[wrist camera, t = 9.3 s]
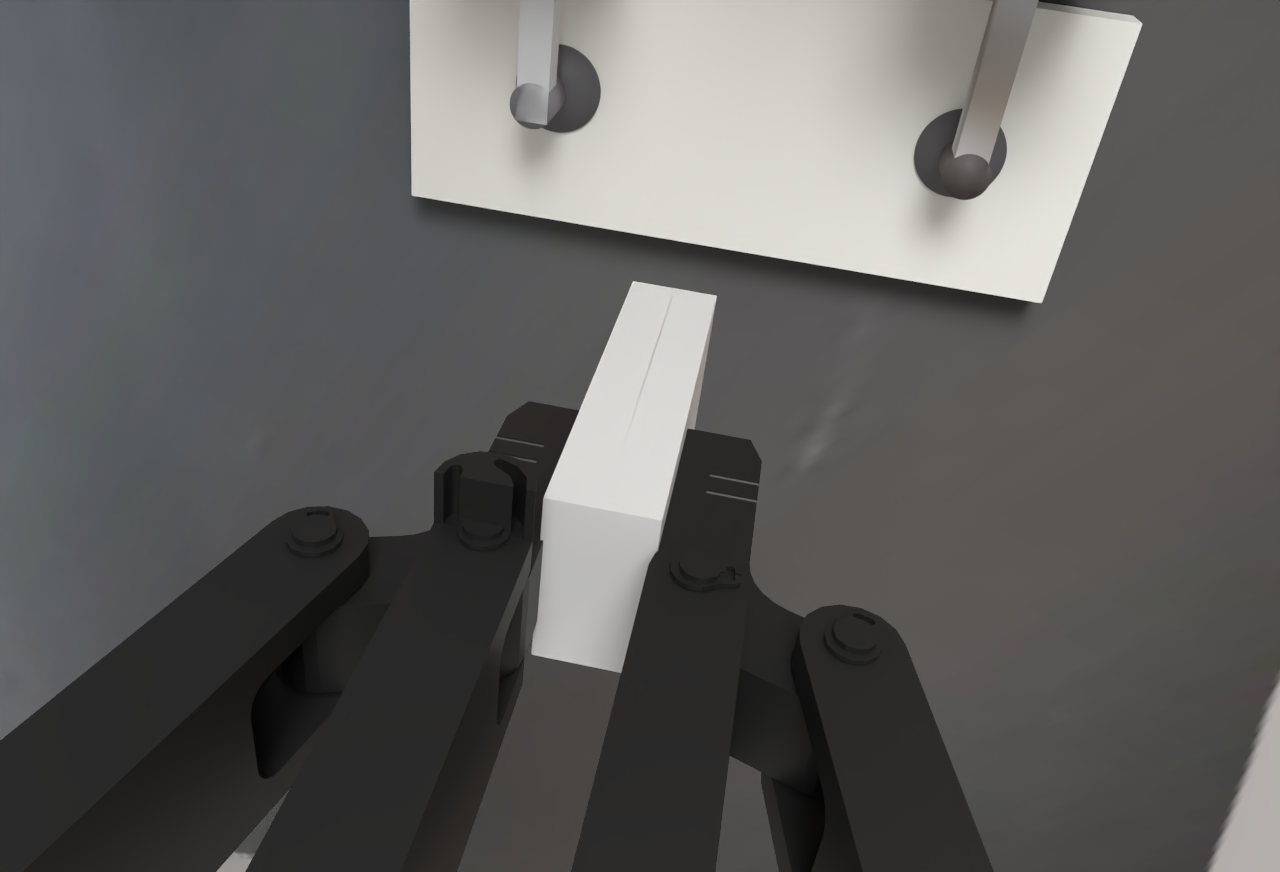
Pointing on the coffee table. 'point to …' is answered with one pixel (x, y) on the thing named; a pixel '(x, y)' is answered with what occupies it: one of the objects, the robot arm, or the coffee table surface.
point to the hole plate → (774, 128)
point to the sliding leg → (538, 64)
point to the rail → (986, 99)
